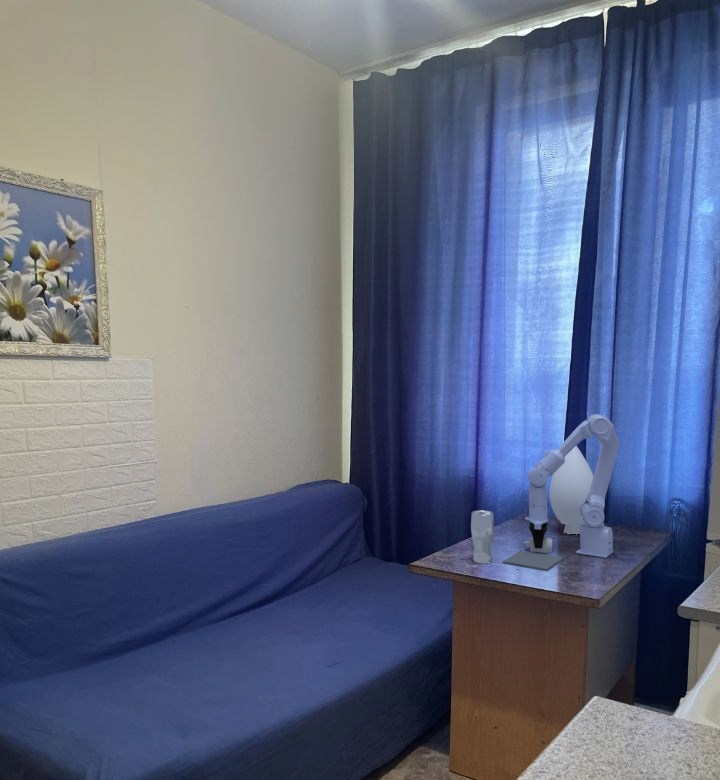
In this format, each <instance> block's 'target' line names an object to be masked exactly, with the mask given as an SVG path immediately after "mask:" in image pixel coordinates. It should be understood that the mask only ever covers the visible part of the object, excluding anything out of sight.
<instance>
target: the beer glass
mask: <svg viewBox="0 0 720 780" xmlns="http://www.w3.org/2000/svg"><path fill="white" fill-rule="evenodd" d="M470 519H471V520H470V521H471V522H470V531H471V532H470V533H471V538H472V542H473V543H472V544H473V558H472V562H474V563H476V564H483V565H486V564H487V565H488V564H491V563H494V562H493V561H494V557H493V553H492V548H493V547H492V546H493V541H494V533H495V521H494V520H495V519H494V512H493V511H489V510H483V509H482V510H480V509H479V510H473V511H472V512H471V518H470Z"/></svg>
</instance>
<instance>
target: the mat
mask: <svg viewBox="0 0 720 780" xmlns="http://www.w3.org/2000/svg"><path fill="white" fill-rule="evenodd" d="M564 559H565V558H564V557H563V556H558V555H557V556H556V555H552V554H551V555H550V554H544V553H540V552H530V551H526V550H519V551H518V552H516V553H514V554H512V555H511V556H509V557H507V558H505V559H504V560H502V563H501V564H505V565H512V566H517V567H521V568H528V569H534V570H539V571H544V572H548V571H549V570H551V569H552V568H553V567H555V566H557V565H558V564H560V562H562V561H564Z"/></svg>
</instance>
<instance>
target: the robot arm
mask: <svg viewBox="0 0 720 780" xmlns="http://www.w3.org/2000/svg"><path fill="white" fill-rule="evenodd" d="M593 437H596V438H597V440H598V442H599V443H600V445H601V449H600V453H599V455H598V460H597V463H596V467H595V470H594V473H593V476H594V477H593V481H592V484H591V488H590V492H589V494H588V495H587V497H586V500H585V502H584V503H583V504H582V505H581V507H580V514H581V516H582V517H583V519H582V521H581V522H580V535H579V537H580V539H579V544H580V546H579V549H577V550H576V551H575V553H576V554H579V555H585V556H587V555H588V556H592V557H593V556H594V557H599V558H605V559H607V558H608V557H609V556H610V555H612V553H614V548H613V542H614V541H613V540H614V539H613V537H614V536H613V535H614V534H613V529H612V527H609V526H607V525H605V512H604V511H605V506H606V504H605V499H606V496H607V491H608V488H609V485H610V482H611V476H612V474H613V470H614V467H615V463H616V460H617V456H618V453H619V449H620V445H621V444H620V441H619V438H618V435H617V432H616V429H615V425H614V424H613V423H612V421H611V420H610V419H609V418H608V417H606V416H603V415H602V414H600V413H595V414H594V413H593V414H591V415H589V416H588V417H587V419H585V420H584V421H582V422H581V423H580V424H579V425H578V426H577V427H576V428H575V429H574V430H573V431H572V432H571V434H570V435H569V436H568V437H567V438H566V439H565V440H564V441H563V443H561V445H560V446H559V447H558V448H557V449H550V451H548V450H546V452H545V453H544V455H545V456H544V457H543V458H541V459H540V461H539V462H536V463H535V464H534V466H535V467H532V468H531V469H530V470H529V472H528V474H527V479H528V481H529V484H528V489H529V490H528V513H529V514H528V516H525V518H524V519H525V521H529V525H528V529H529V532H530V533H531V537H533V541H534V546H535V548H542V545H543V539H544V537H545V535H546V533H547V530H548V527H547V526H548V522H549V517H548V490H547V484H548V482H549V477H553V474H554V473H555V472H556V471H557V470H558V469H559V468H560V467H561V466H562V465H563V464H564V463H565V456H566V455H567V454H568V453H569V452H570V451H571V450H572V449H573V448H574V447H575V446H576V445H579V443H581V442H582V441H583V440H585V439H590V438H591V439H592V438H593Z"/></svg>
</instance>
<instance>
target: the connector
mask: <svg viewBox="0 0 720 780" xmlns="http://www.w3.org/2000/svg"><path fill="white" fill-rule="evenodd" d="M529 539H530V540H525V541H524V547H529V548H530V549H529V550H530V551H529V552H533V553H543V554H544V553H548V554H549V553H553V538H552V537H545V536H544V539H543V545H542V548H535V546H534V541H533V536H530V538H529Z"/></svg>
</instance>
